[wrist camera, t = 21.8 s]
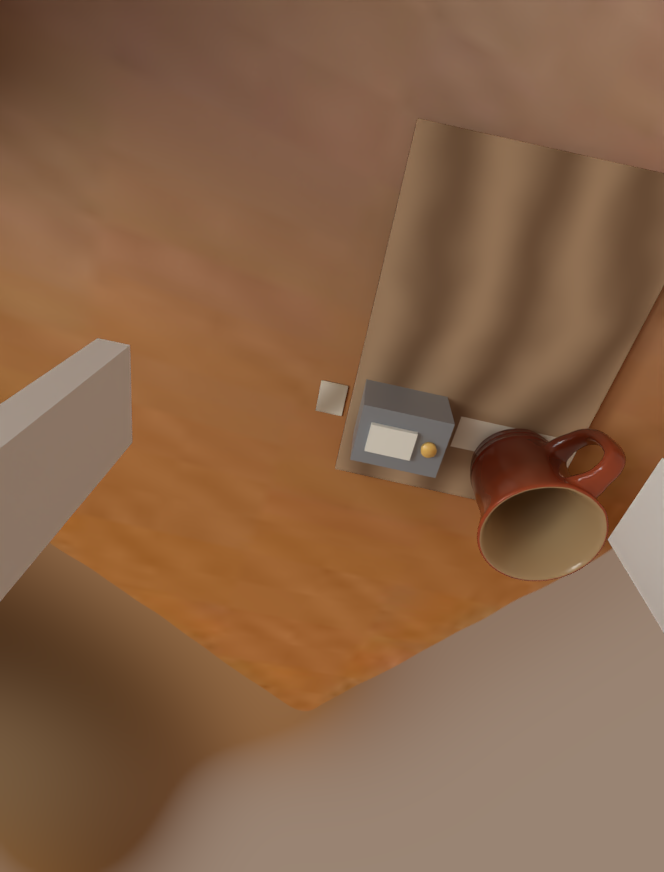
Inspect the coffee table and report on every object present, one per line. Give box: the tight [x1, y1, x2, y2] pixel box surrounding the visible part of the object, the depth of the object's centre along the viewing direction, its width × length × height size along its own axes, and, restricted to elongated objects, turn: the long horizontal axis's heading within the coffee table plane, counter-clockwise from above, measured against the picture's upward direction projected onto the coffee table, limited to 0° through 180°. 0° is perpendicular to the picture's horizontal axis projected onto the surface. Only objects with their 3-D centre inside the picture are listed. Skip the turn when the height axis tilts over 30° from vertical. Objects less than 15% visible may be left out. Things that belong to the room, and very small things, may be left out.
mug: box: [470, 428, 626, 581], centre depth 38 cm, size 12×9×10 cm
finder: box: [350, 379, 455, 478], centre depth 39 cm, size 7×5×5 cm
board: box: [316, 118, 664, 500], centre depth 39 cm, size 23×28×1 cm
